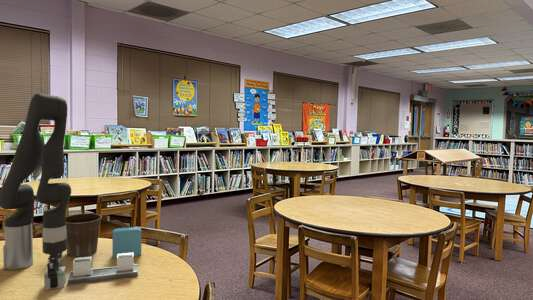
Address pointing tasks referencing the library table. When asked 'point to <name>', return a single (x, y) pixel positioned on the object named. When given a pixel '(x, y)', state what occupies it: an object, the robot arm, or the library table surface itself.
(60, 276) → the block
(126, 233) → the data package
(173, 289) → the library table surface
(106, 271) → the rail
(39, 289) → the library table surface
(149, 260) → the library table surface
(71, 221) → the plant pot
